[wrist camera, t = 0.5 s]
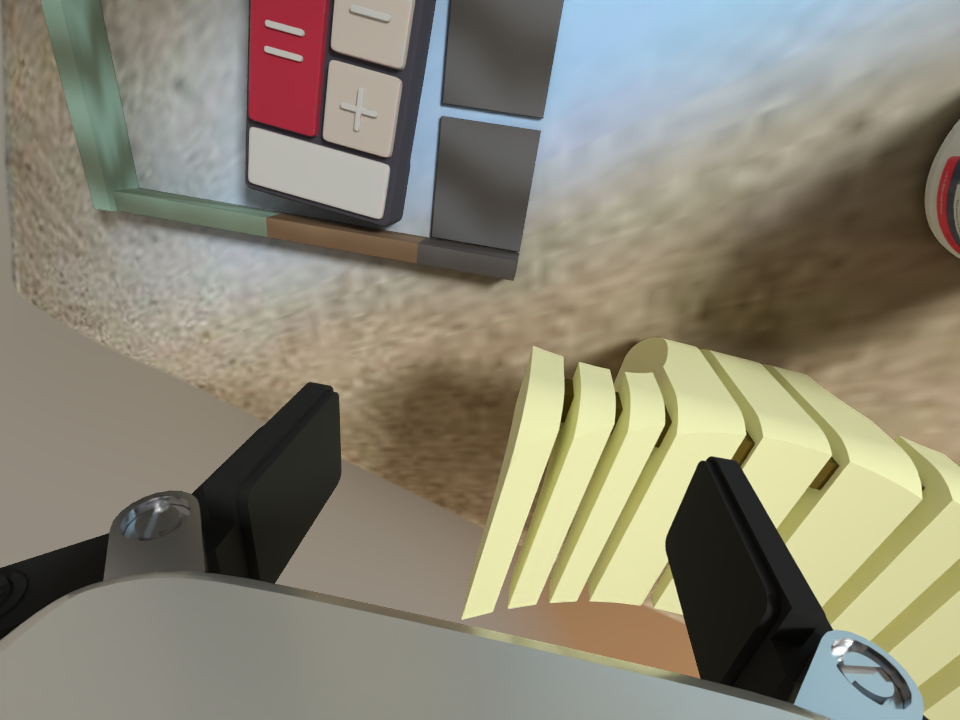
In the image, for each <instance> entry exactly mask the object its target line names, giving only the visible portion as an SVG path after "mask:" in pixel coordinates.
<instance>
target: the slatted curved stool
mask: <svg viewBox="0 0 960 720" xmlns="http://www.w3.org/2000/svg"><path fill="white" fill-rule="evenodd" d="M550 453H551V455H550ZM549 456H550V459H549ZM711 456H714V457H719V458H724V459H730V460H735V461H737V462H738V464H739V465H740V467H741V468H742V470H743V472H744V474H745V475H746V477H747V479H748V481H749V482H750V484H751V486H752V488H753V489H754V491H755V493H756V494H757V496H758V498H759V500H760V501H761V503H762V505H763V507H764V508H765V510H766V512H767V514H768V515H769V517H770V519H771V520H772V522H773V524H774V526H775V527H776V529H777V531H778V533H779V534H780V536H781V538H782V539H783V541H784V543H785V545H786V546H787V548H788V550H789V552H790V553H791V555H792V557H793V559H794V560H795V562H796V564H797V565H798V567H799V569H800V571H801V572H802V574H803V576H804V578H805V579H806V581H807V583H808V585H809V586H810V588H811V590H812V591H813V593H814V595H815V597H816V598H817V600H818V602H819V604H820V605H821V607H822V609H823V610H824V612H825V614H826V618H827V620H828V621H829V623H830V625H831V627H832V628H833V630H842V631H849V632H851V633H854V634H857V635H859V636H862V637H864V638H866V639H867V640H869V641H871V642H873V643H874V644H876V645H878V646H879V647H880V648H882V649H883V650H884V651H885V652H887V653H888V654H889V655H891V656H892V657H893V658H894V659H895V660H896V661H897V662H898V663H899V664H900V665H901V666H902V667H903V668H904V669H905V670H906V671H907V673H908V674H909V675H910V677H911V678H912V679H913V681H914V682H915V683H916V685H917V687H918V689H919V691H920V693H921V696H922V698H923V706H924V712H923V715H924V716H925V717H927V718H928V719H929V720H960V463H959V464H958V465H956V464H955V463H954V462H953V461H951V460H950V459H949V458H948V457H946V456H945V455H944V454H943V453H940V452H937V451H934V450H932V449H929V448H927V447H924V446H922V445H919V444H917V443H914V442H912V441H910V440H908V439H906V438H903V437H901V436H898V437H897V438H896V439H895V441H893V440H892V439H891V438H890V437H889V436H888V435H887V434H886V433H884V432H883V431H882V430H881V429H880V428H879V427H878V426H877V425H875V424H874V423H873V422H872V421H871V420H870V419H868V418H867V417H865V416H864V415H862V414H860V413H859V412H857V411H856V410H854V409H853V408H851V407H850V406H848V405H847V404H845V403H844V402H842V401H841V400H839V399H838V398H836V397H835V396H834V395H832V394H831V393H829V392H828V391H827V390H825V389H824V388H822V387H821V386H820V385H818V384H817V383H816V382H815V381H814V380H812V379H811V378H810V377H809V376H807V375H805V374H803V373H799V372H795V371H791V370H787V369H783V368H779V367H775V366H771V365H767V364H760V363H758V362H755V361H751V360H747V359H743V358H739V357H735V356H731V355H727V354H723V353H719V352H715V351H711V350H707V349H700V350H699V349H698V348H697V347H695V346H692V345H688V344H684V343H680V342H676V341H672V340H668V339H664V338H660V337H652V338H648V339H645V340H643V341H641V342H639V343H637V344H636V345H635V346H633V347H632V348H631V349H630V351H629V352H628V353H627V355H626V356H625V358H624V361H623V363H622V365H621V368H620V370H619V373H618V375H617V377H616V380H615V382H614V385H613V381H612V377H611V372H610V369H606V368H601V367H597V366H593V365H589V364H586V363H582V362H579V363H578V366H577V368H576V371H575V374H574V377H573V379H572V380H569V379H565V378H564V359H563V357H562V356H560V355H557V354H554V353H551V352H548V351H545V350H543V349H540V348H538V347H535V346H533V348H532V351H531V355H530V358H529V361H528V365H527V368H526V372H525V375H524V378H523V382H522V385H521V388H520V392H519V395H518V399H517V402H516V406H515V411H514V416H513V421H512V426H511V431H510V435H509V440H508V444H507V448H506V452H505V456H504V460H503V464H502V468H501V471H500V475H499V479H498V483H497V486H496V490H495V494H494V497H493V501H492V504H491V508H490V511H489V515H488V518H487V522H486V525H485V528H484V532H483V535H482V539H481V542H480V545H479V549H478V552H477V556H476V559H475V562H474V565H473V569H472V572H471V576H470V579H469V583H468V588H467V593H466V599H465V604H464V609H463V614H462V620H463V619H466V618H471V617H475V616H479V615H482V614H487V613H491V612H493V609H494V607H495V604H496V601H497V599H498V596H499V593H500V590H501V588H502V584H503V582H504V579H505V576H506V574H507V571H508V568H509V565H510V563H511V560H512V557H513V555H514V552H515V549H516V546H517V544H518V541H519V538H520V535H521V533H522V530H523V527H524V524H525V522H526V519H527V516H528V514H529V511H530V508H531V505H532V503H533V500H534V497H535V494H536V492H537V489H538V486H539V483H540V481H541V478H542V475H543V472H544V470H545V467H546V464H547V461H548V459H549V463H548V467H547V471H546V474H545V478H544V481H543V485H542V488H541V491H540V495H539V498H538V501H537V504H536V507H535V510H534V514H533V517H532V520H531V523H530V526H529V528H528V531H527V534H526V537H525V540H524V543H523V546H522V549H521V552H520V554H519V557H518V560H517V563H516V565H515V568H514V571H513V574H512V576H511V580H510V588H509V600H508V609H511V608H516V607H522V606H530V605H536V603H537V601H538V598H539V596H540V594H541V592H542V589H543V586H544V585H545V582H546V580H547V578H548V576H549V573H550V571H551V569H552V566H553V564H554V562H555V559H556V557H557V555H558V553H559V550H560V548H561V546H562V543H563V541H564V539H565V536H566V534H567V532H568V530H569V527H570V525H571V523H572V520H573V518H574V516H575V518H574V520H573V523H572V526H571V528H570V531H569V533H568V536H567V538H566V541H565V543H564V546H563V548H562V551H561V553H560V556H559V558H558V560H557V563H556V565H555V568H554V570H553V572H552V575H551V577H550V603H557V602H573V601H577V599H578V597H579V595H580V593H581V591H582V589H583V587H584V585H585V583H586V581H587V579H588V589H589V601H597V602H617V603H624V604H632V605H641V604H642V603H643V601H644V600H645V598H646V596H647V595H648V593H649V591H650V590H651V588H652V587H653V585H654V583H655V582H656V580H657V579H658V577H659V575H660V574H661V572H662V570H663V569H664V567H665V566H666V564H667V562H668V558H667V554H666V550H665V541H666V536H667V534H668V531H669V529H670V527H671V525H672V522H673V520H674V518H675V515H676V513H677V511H678V509H679V506H680V504H681V502H682V499H683V497H684V495H685V493H686V490H687V488H688V486H689V483H690V481H691V479H692V477H693V474H694V472H695V470H696V467H697V465H698V463H699V462H700V461H702V460H703V461H706V460H707V458H709V457H711ZM576 511H577V512H576ZM575 513H576V515H575ZM651 598H652V603H653V607H654V608H656V609H660V610H665V611H669V612H673V613H677V614H681V615H683V612H682V609H681V605H680V601H679V598H678V594H677V590H676V587H675V583H674V580H673V576H672V572H671V569H670V565H668V566H667V568H666V570H665V572H664V573H663V575H662V577H661V579H660V580H659V582H658V584H657V585H656V587H655V589H654V590H653V592H652V594H651Z"/></svg>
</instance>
